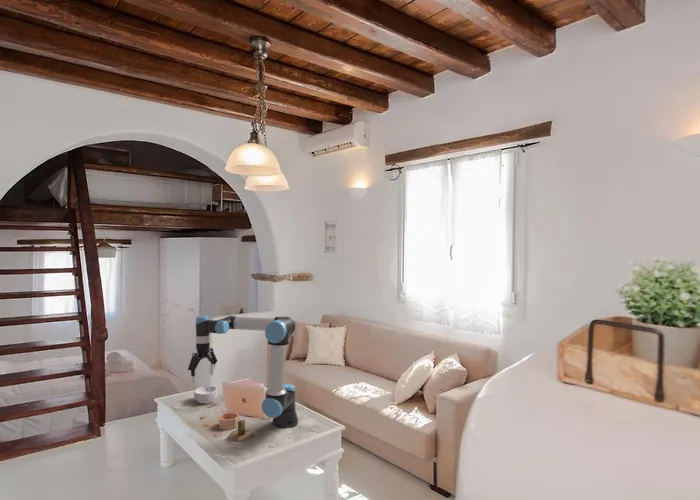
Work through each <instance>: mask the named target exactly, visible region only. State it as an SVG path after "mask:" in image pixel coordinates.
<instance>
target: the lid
mask: <svg viewBox="0 0 700 500" xmlns="http://www.w3.org/2000/svg"><path fill="white" fill-rule="evenodd" d="M237 429H238V430H236V429H234V430H233V431H232V432H230V434H229V435H228V436H229V438H230V439H231V440H233V441H246V440H249V439H251V438H252V437H253V436H254V432H253V431H254V430H252V429H250V428H249V429H248V428H246V420H244V419H239V421H238V427H237ZM254 437H255V436H254ZM254 437H253V438H254ZM253 438H252V439H253ZM252 439H251V440H252ZM233 441H232V442H233Z"/></svg>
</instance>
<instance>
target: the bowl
mask: <svg viewBox="0 0 700 500" xmlns="http://www.w3.org/2000/svg"><path fill="white" fill-rule="evenodd" d="M238 421H240V414H239V413H238V412H233V411H229V412H225V413H221V414H220V415H219V416H218V427H219V429H221V430H226V431H227V430H235V429H237V428H238Z"/></svg>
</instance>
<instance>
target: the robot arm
mask: <svg viewBox="0 0 700 500" xmlns="http://www.w3.org/2000/svg"><path fill="white" fill-rule="evenodd" d="M229 330H241V331H242V330H243V331H244V330H245V331H260V332H261V331H263V332H264V335H265V338H266V339H267V345H269V346H270V348H269V349H270V351H269V373H268V388H267V389H266V390H265V398H264V399H263V401H262V403H261V409H262V412H263V414H264V415H265V416H267V417H268V418H272V425H273V426H274V427H275V428H279V429H280V428H281V429H288V428H289V429H291V428H294V427H296V426H297V425H299V416H298V414H297V410H296V386H295V385H294V384H292V383H285V374H286V373H285V371H286V370H285V369H286V353H287V346H288V345H289V343H290V337H291V336H292V335H293V334H294V332H295V330H296V323H295V321H294V319H293V318H291V317H289V316H275V317H274V318H272V317H249V316H248V317H247V316H246V317H245V316H236V315H229V316H226V317H223V318H220V319H216V320H215V319H210V317H209V316H208V315H199V316H197V317H196V319H195V342H196V343H195V346H196V347H195V349H196V352H192V354H191V359H190V362H189V364H188V368H187V370H188V371H190V376H191V381H192V382H194V383H196V382H197V370H196V369H197V367H198V366H199V364H200V361H202V360H203V359H207V360H208V362H209V363H210V364H209V375H210V376H215V368H216V367H215V366H216V364H217V363H218V358H217V357H216V354H215V352H214V348H213V347H210V344H211V343H210V334H218V335H221V334H227V333H228V331H229Z"/></svg>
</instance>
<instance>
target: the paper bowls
mask: <svg viewBox="0 0 700 500" xmlns="http://www.w3.org/2000/svg"><path fill="white" fill-rule="evenodd" d="M217 397H218V387H217V386H213V385H206V386H201V387H198V388H195V390H194V391H193V399H194V401H197V402H198V403H199V404H201V405H202V404H203V405H204V404H205V405H206V404H210V403H213V402H214V400H215V399H216V398H217Z"/></svg>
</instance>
